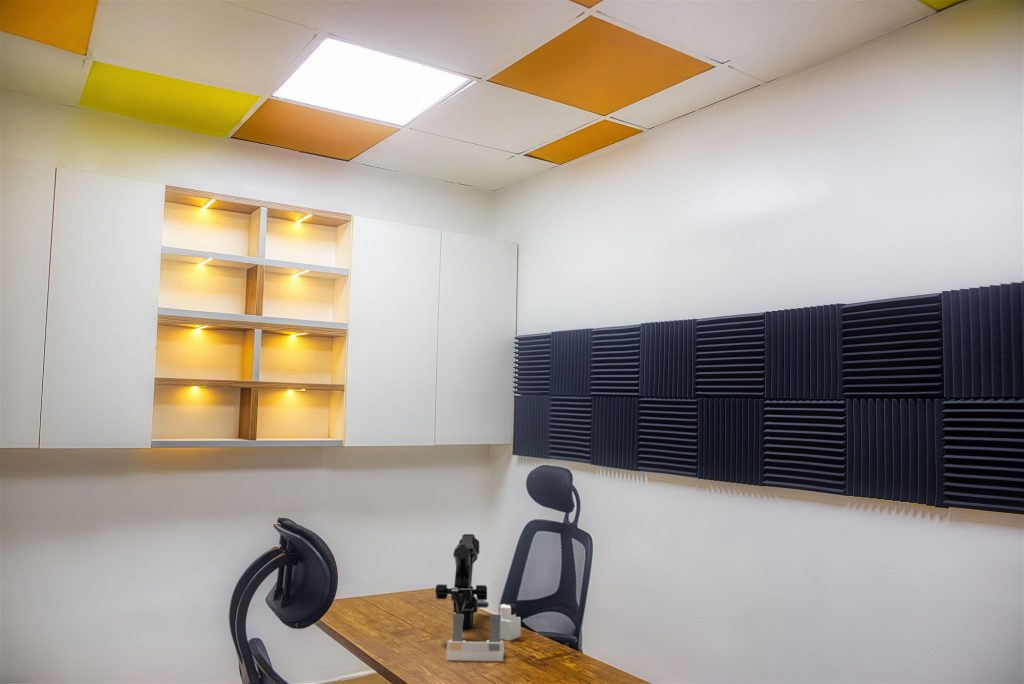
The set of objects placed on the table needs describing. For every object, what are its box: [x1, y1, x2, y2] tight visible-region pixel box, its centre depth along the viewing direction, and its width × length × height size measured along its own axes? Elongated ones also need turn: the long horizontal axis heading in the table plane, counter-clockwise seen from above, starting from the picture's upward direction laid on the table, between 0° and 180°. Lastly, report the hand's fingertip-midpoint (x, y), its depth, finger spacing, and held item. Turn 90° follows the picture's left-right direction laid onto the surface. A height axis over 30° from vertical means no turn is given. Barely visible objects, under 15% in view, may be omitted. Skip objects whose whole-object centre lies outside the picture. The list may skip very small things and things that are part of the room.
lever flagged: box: [452, 613, 464, 642], centre depth 260 cm, size 2×4×10 cm, turn 89°
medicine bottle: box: [499, 602, 522, 642], centre depth 280 cm, size 7×7×12 cm
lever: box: [489, 614, 501, 642], centre depth 260 cm, size 2×4×10 cm, turn 89°
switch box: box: [446, 639, 505, 662], centre depth 257 cm, size 9×19×6 cm, turn 89°
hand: (459, 613), depth 268 cm, fingers closed
